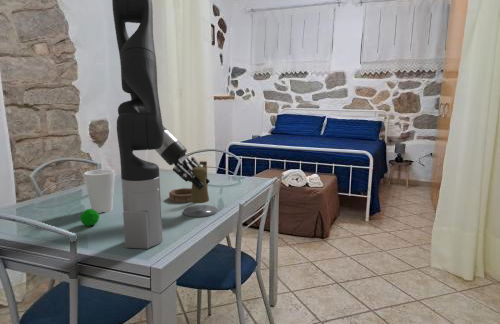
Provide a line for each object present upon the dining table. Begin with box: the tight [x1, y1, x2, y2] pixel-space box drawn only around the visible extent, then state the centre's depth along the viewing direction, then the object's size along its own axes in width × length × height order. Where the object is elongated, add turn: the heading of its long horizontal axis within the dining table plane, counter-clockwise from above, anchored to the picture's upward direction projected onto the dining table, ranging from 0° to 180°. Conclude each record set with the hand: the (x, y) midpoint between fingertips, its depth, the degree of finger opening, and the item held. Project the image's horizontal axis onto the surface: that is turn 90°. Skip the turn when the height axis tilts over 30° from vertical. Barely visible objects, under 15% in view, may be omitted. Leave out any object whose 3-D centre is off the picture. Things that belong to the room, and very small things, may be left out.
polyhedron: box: [79, 208, 100, 227], centre depth 106 cm, size 5×5×5 cm
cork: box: [190, 166, 210, 204], centre depth 117 cm, size 6×6×11 cm
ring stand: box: [168, 160, 209, 203], centre depth 133 cm, size 10×14×14 cm
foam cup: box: [83, 168, 116, 214], centre depth 120 cm, size 10×9×13 cm
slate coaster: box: [183, 204, 218, 218], centre depth 118 cm, size 11×11×1 cm
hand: (204, 185), depth 117 cm, fingers closed on cork, 5 cm apart
